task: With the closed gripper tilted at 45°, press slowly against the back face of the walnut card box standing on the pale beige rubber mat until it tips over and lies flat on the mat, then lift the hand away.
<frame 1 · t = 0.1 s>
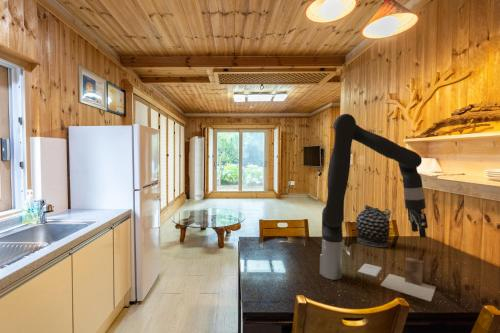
hand: (418, 234, 111), 22 cm above the table, tool pointing down, fingers open, 8 cm apart
external hard drive: (370, 272, 124), on the table
mat: (407, 287, 109), on the table
dark studded dome: (372, 244, 164), on the table
card box: (413, 282, 113), point 1 cm above the table, touching mat
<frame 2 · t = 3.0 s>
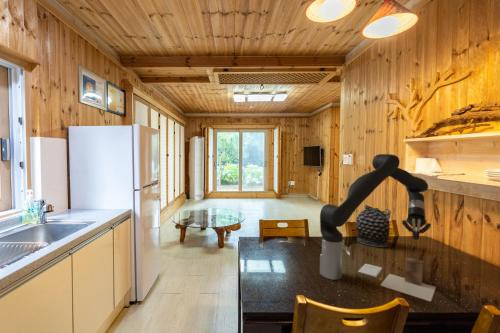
hand: (416, 239, 126), 16 cm above the table, tool tilted 45°, fingers closed
nothing on the table moved.
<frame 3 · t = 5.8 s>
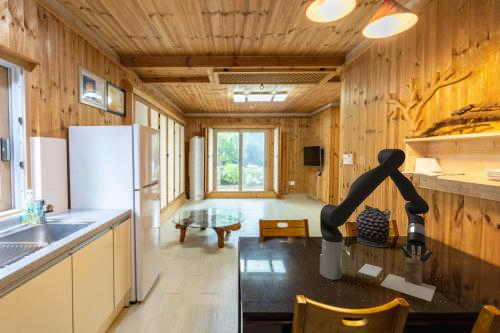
hand: (415, 269, 113), 6 cm above the table, tool tilted 45°, fingers closed
card box: (413, 281, 112), point 1 cm above the table, tilted 8°, touching mat
everything else where it was.
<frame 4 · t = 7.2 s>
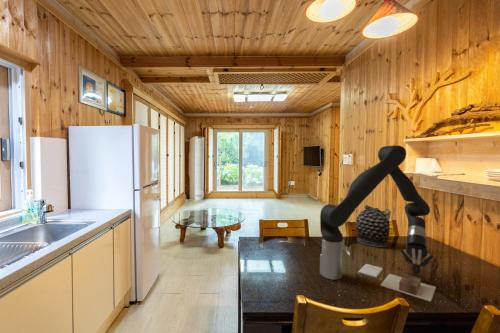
hand: (416, 273, 109), 6 cm above the table, tool tilted 45°, fingers closed
card box: (412, 279, 111), point 2 cm above the table, tilted 90°, touching mat
everything else where it was.
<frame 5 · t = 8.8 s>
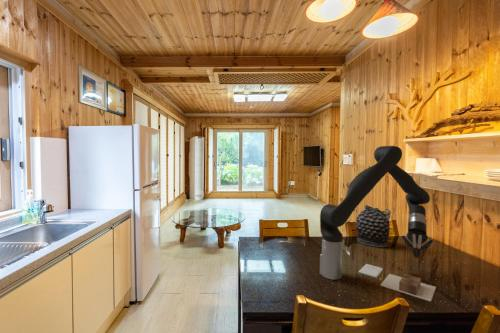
hand: (416, 257, 116), 11 cm above the table, tool tilted 45°, fingers closed
nothing on the table moved.
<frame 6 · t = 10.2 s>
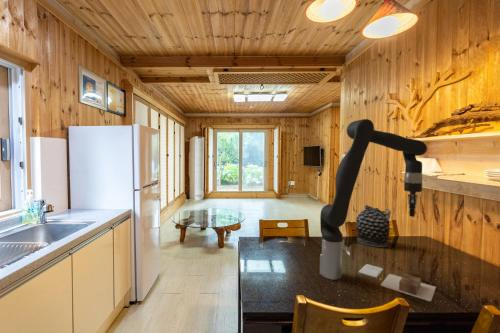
hand: (411, 216, 126), 27 cm above the table, tool pointing down, fingers closed
nothing on the table moved.
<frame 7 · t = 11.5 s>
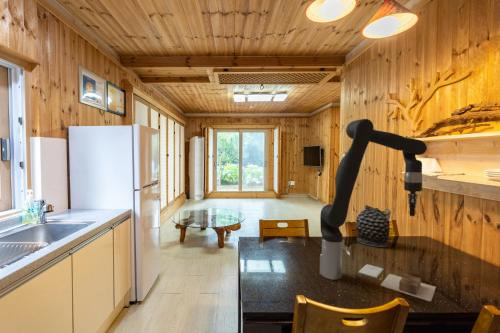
hand: (412, 215, 126), 27 cm above the table, tool pointing down, fingers closed
nothing on the table moved.
at the end: card box tilted 90°; card box touching mat; card box inside the target area (3.7 cm from its centre), point 2.3 cm above the table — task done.
